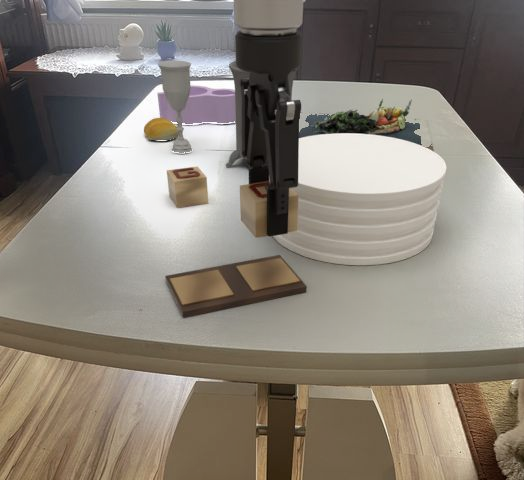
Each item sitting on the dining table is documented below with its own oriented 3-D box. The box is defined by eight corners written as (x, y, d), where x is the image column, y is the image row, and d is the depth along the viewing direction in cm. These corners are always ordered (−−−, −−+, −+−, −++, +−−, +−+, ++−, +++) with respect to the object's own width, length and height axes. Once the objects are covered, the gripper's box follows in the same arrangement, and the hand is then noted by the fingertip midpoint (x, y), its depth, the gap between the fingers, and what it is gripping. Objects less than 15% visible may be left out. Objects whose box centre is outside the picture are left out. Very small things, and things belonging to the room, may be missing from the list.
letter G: (177, 208, 101) (174, 180, 97) (169, 196, 105) (166, 169, 102) (208, 203, 102) (206, 176, 99) (199, 191, 107) (197, 165, 103)
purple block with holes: (241, 114, 150) (241, 87, 145) (232, 128, 140) (231, 99, 136) (171, 111, 152) (168, 84, 148) (157, 124, 142) (153, 95, 138)
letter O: (255, 238, 72) (255, 200, 69) (240, 220, 76) (239, 183, 73) (297, 230, 74) (298, 193, 70) (280, 213, 78) (280, 177, 75)
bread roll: (150, 144, 130) (148, 126, 127) (141, 133, 136) (139, 116, 134) (184, 140, 132) (182, 122, 130) (174, 129, 139) (172, 113, 136)
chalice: (203, 151, 126) (198, 64, 115) (179, 158, 122) (172, 68, 111) (183, 143, 130) (176, 59, 119) (160, 150, 126) (151, 63, 115)
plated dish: (426, 118, 147) (431, 89, 143) (435, 154, 126) (442, 121, 121) (297, 114, 152) (297, 85, 147) (284, 148, 130) (284, 115, 125)
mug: (238, 148, 127) (234, 24, 112) (301, 152, 125) (306, 26, 110) (219, 177, 113) (212, 39, 97) (290, 182, 111) (294, 42, 95)
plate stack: (263, 195, 105) (263, 134, 98) (407, 192, 106) (417, 131, 99) (274, 268, 83) (276, 195, 76) (455, 263, 84) (473, 191, 77)
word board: (183, 318, 73) (182, 310, 72) (165, 281, 80) (164, 274, 79) (306, 292, 78) (306, 284, 77) (279, 260, 85) (279, 253, 84)
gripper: (338, 40, 55) (323, 249, 69) (268, 17, 69) (267, 194, 83) (269, 45, 53) (268, 259, 67) (211, 20, 67) (220, 201, 81)
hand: (267, 223), depth 75 cm, fingers closed on letter O, 6 cm apart
